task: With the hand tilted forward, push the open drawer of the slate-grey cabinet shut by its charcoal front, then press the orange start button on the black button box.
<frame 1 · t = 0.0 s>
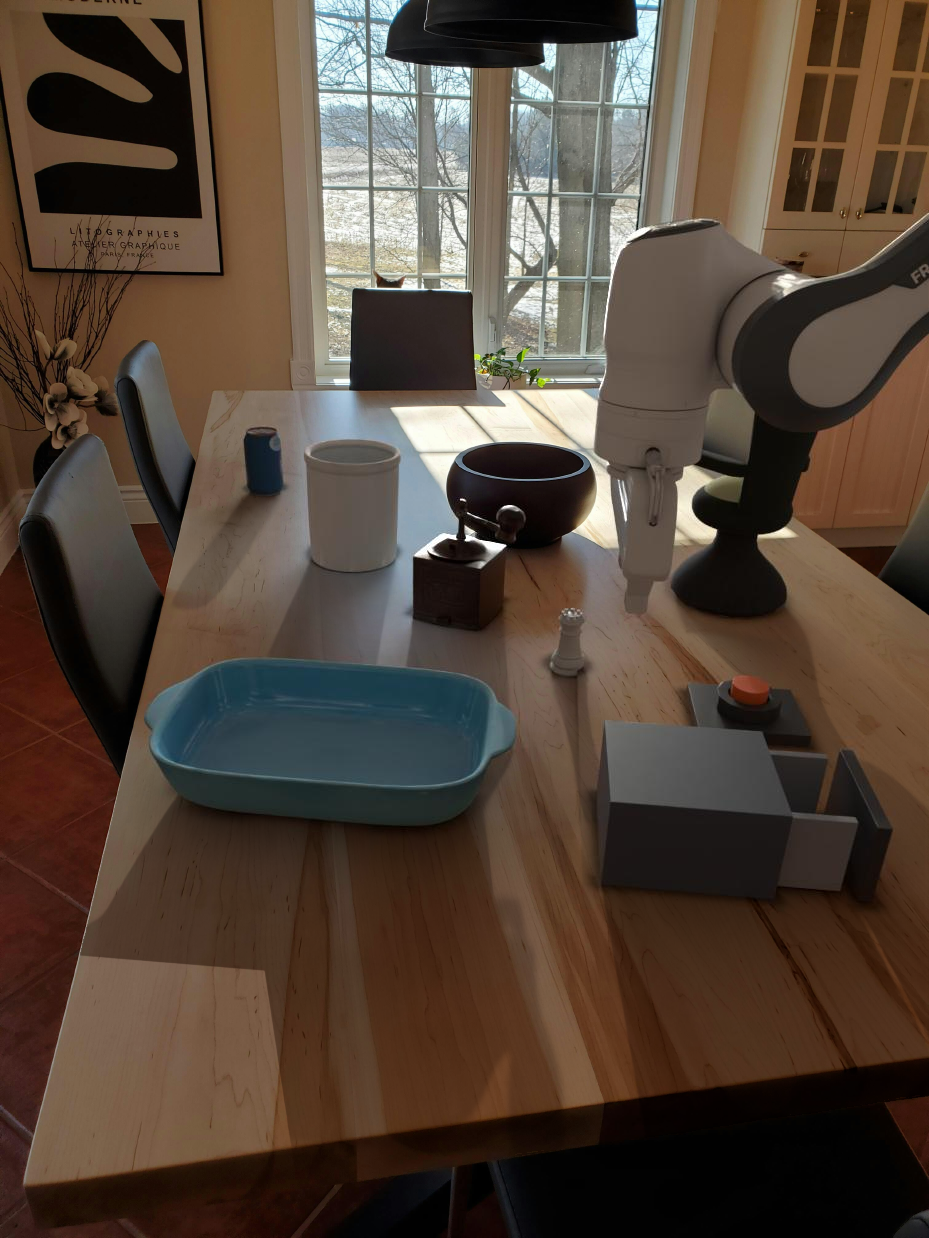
hand: (631, 587, 80), 23 cm above the table, tool pointing down, fingers open, 8 cm apart
manual coffee grinder: (474, 616, 127), on the table
cabinet: (677, 850, 83), on the table
soda can: (266, 492, 174), on the table
utensil holder: (355, 557, 145), on the table
start button: (749, 690, 101), point 4 cm above the table, slide at 0.1 cm
casserole dish: (334, 772, 93), on the table
rook chess piece: (567, 671, 113), on the table
drawer: (790, 817, 80), point 5 cm above the table, slide at 7.0 cm
black plant vase: (736, 604, 133), on the table
button box: (743, 724, 102), on the table
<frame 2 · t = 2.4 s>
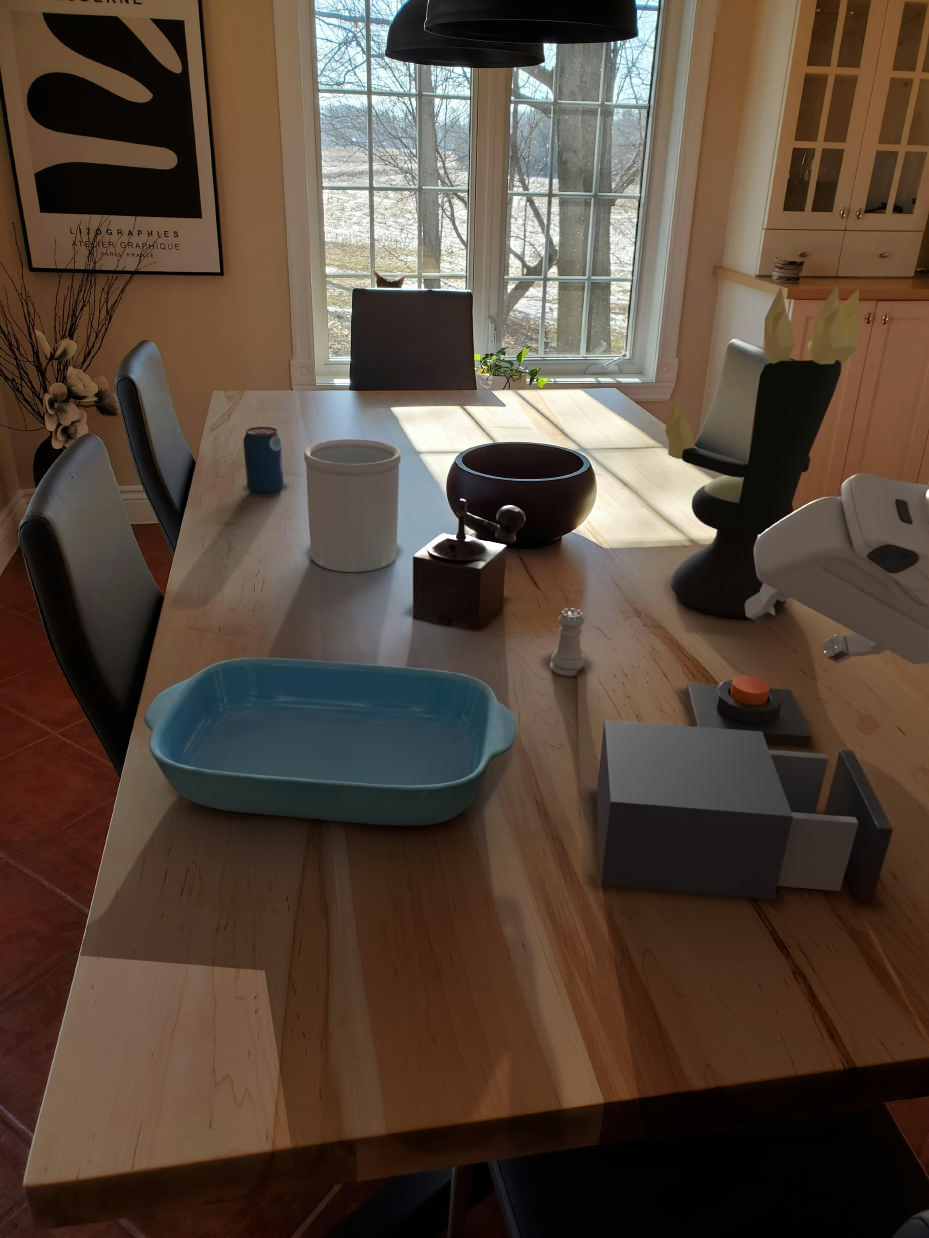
hand: (790, 633, 76), 21 cm above the table, tool tilted 45°, fingers open, 8 cm apart
nothing on the table moved.
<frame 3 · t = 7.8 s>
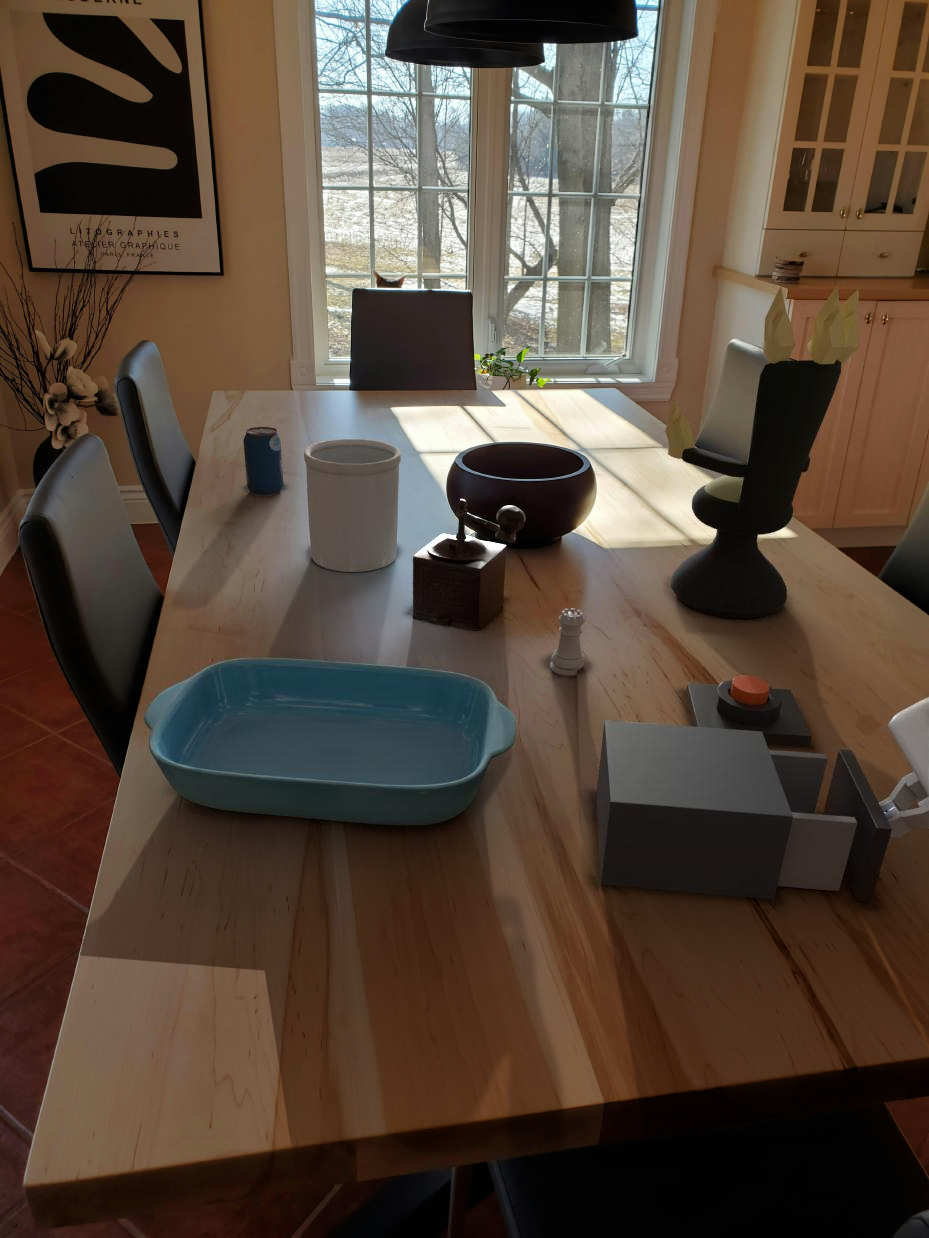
hand: (882, 822, 79), 5 cm above the table, tool tilted 45°, fingers closed, pressing on drawer
drawer: (789, 817, 80), point 5 cm above the table, slide at 6.9 cm, touching gripper
everything else where it was.
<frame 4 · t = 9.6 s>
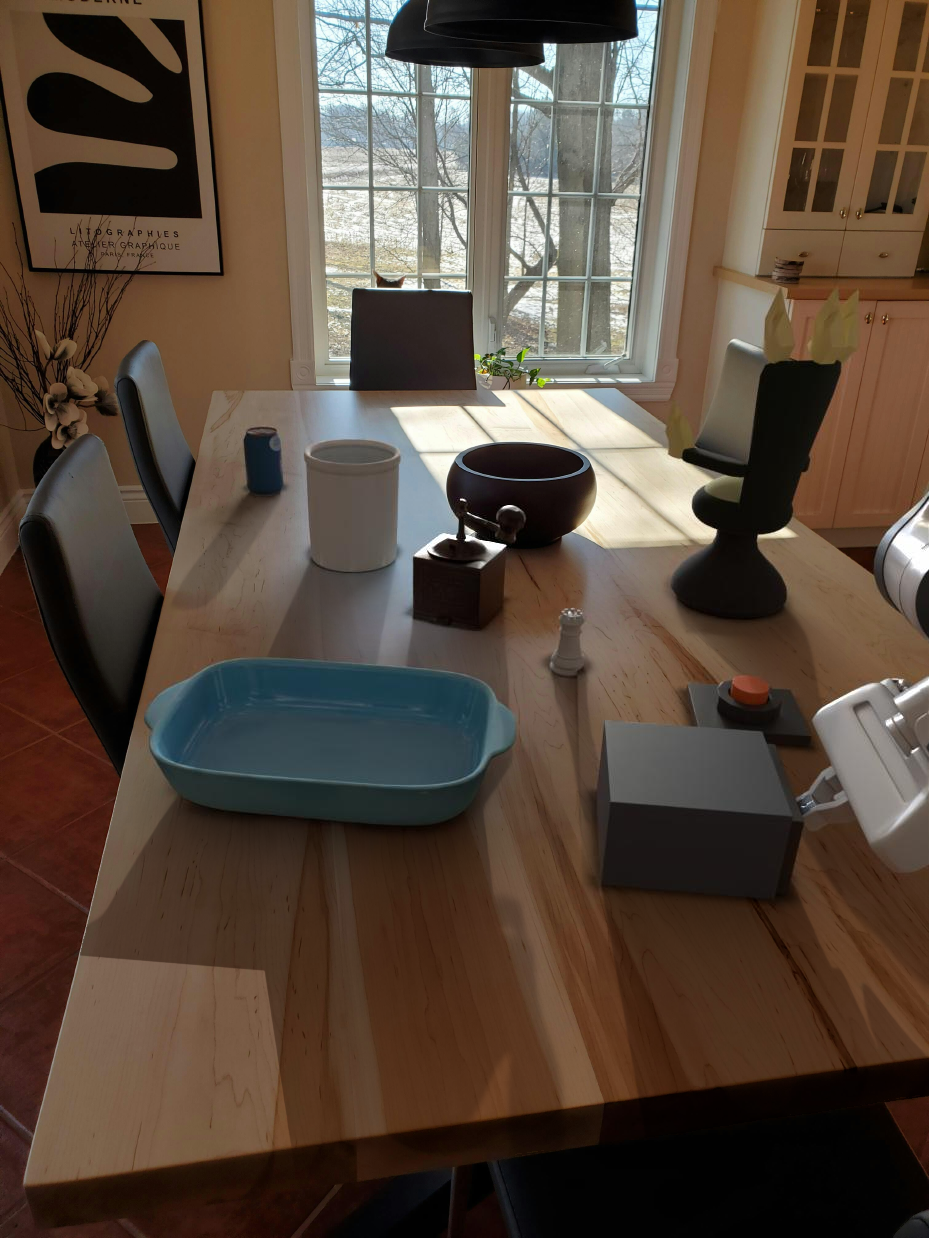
hand: (801, 816, 80), 5 cm above the table, tool tilted 45°, fingers closed, pressing on drawer
drawer: (710, 810, 80), point 5 cm above the table, slide at 0.0 cm, touching cabinet, gripper
everything else where it was.
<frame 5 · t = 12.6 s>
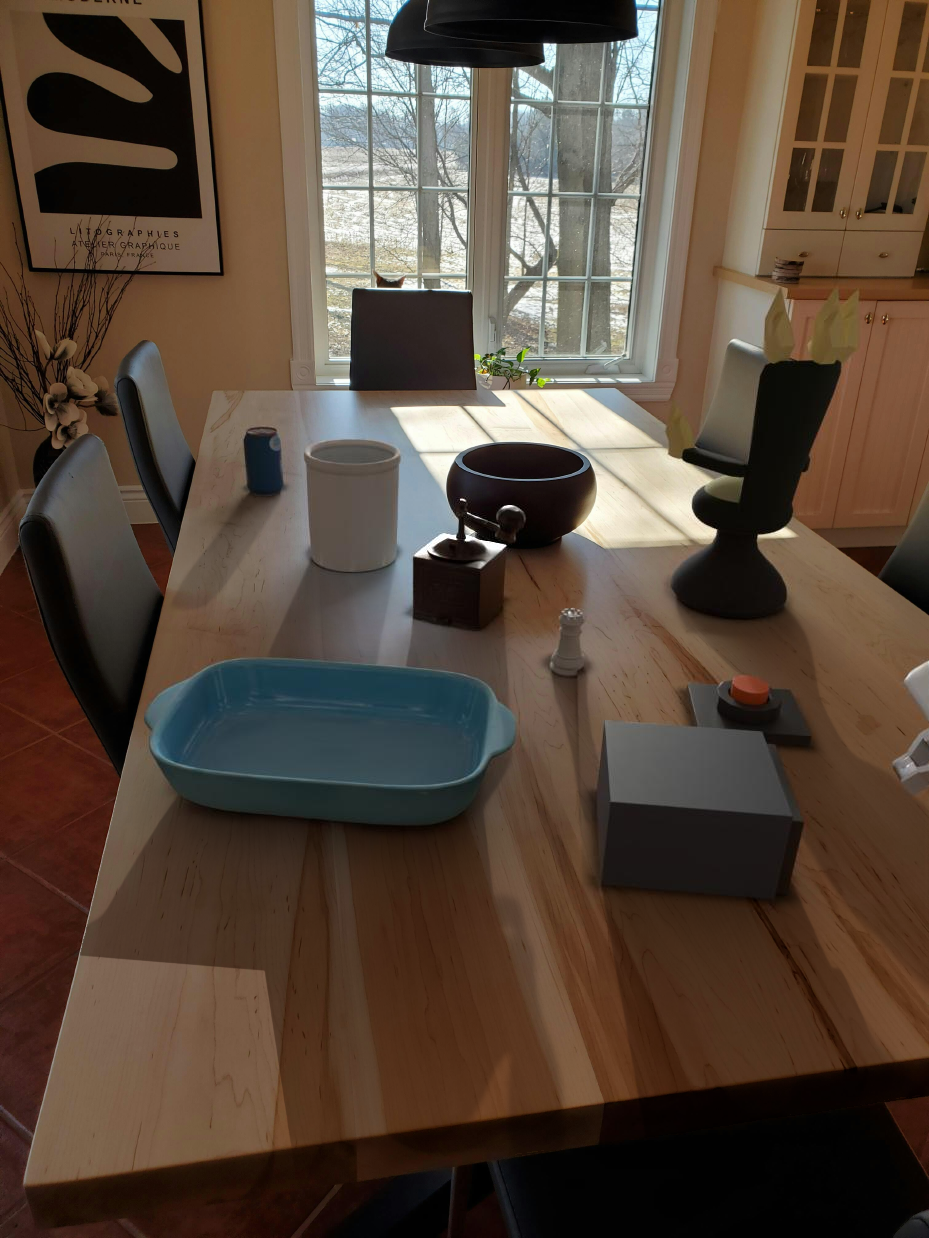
hand: (900, 779, 77), 10 cm above the table, tool tilted 45°, fingers closed
drawer: (710, 810, 80), point 5 cm above the table, slide at 0.0 cm
everything else where it was.
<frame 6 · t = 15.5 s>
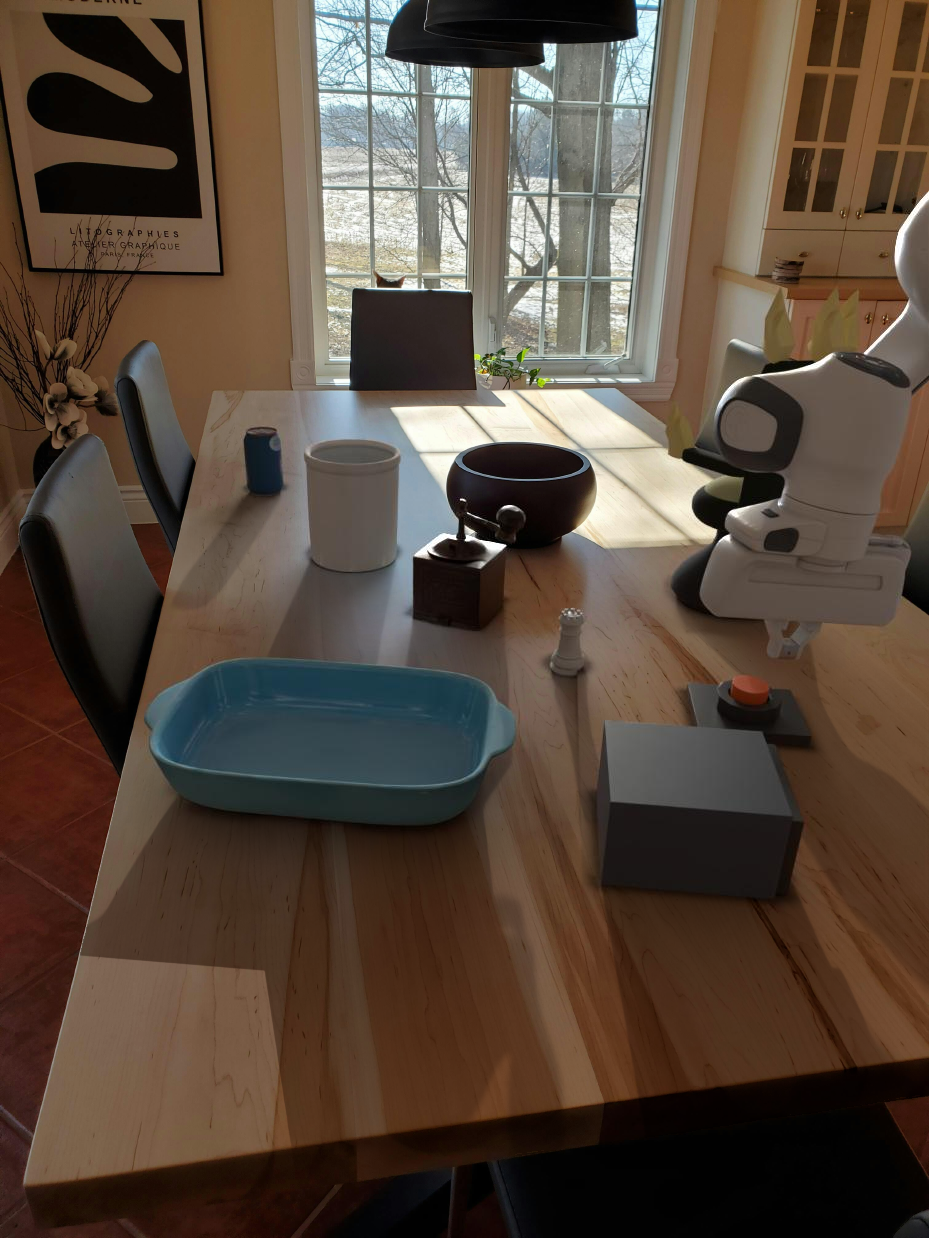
hand: (782, 656, 92), 12 cm above the table, tool pointing down, fingers closed
nothing on the table moved.
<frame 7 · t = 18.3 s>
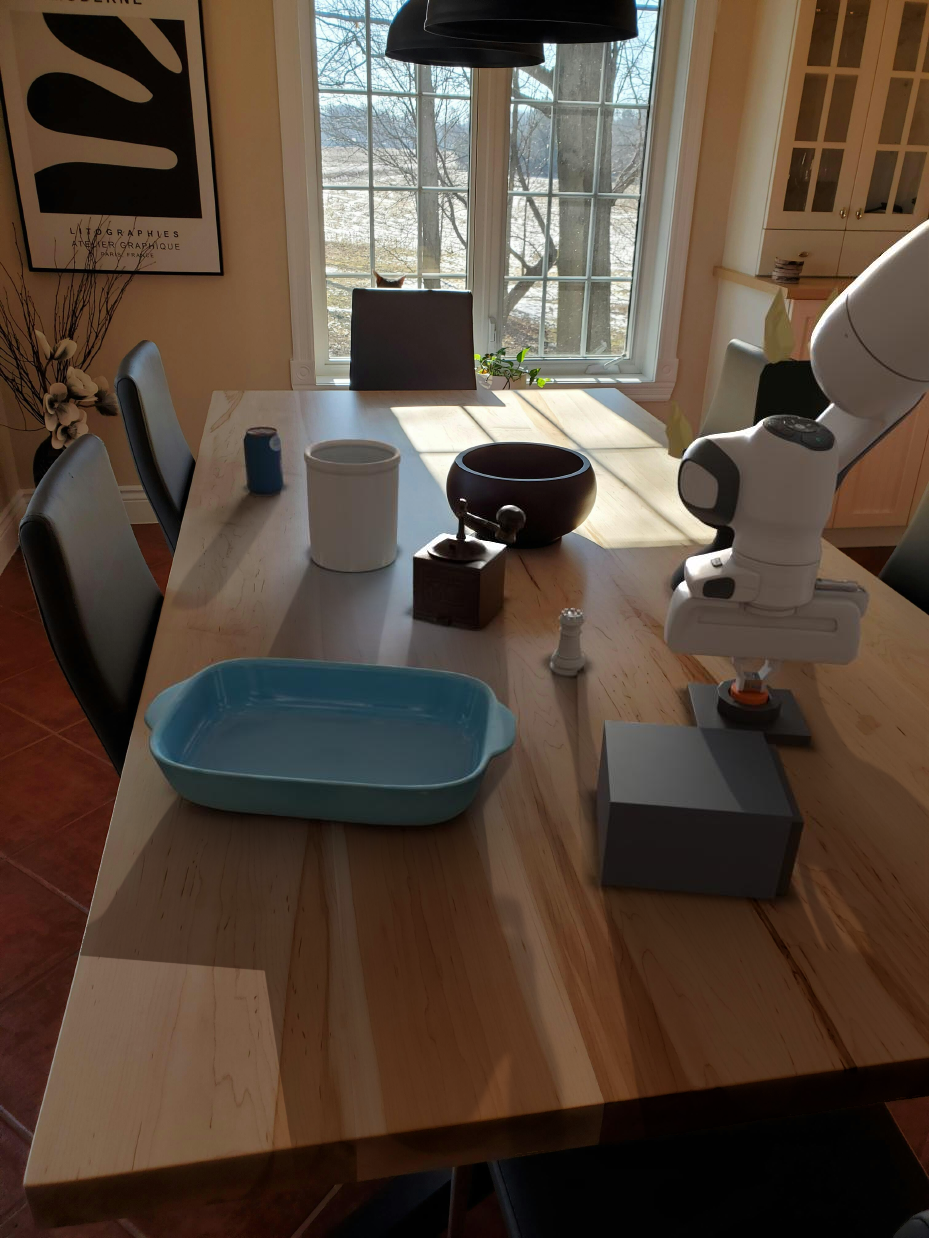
hand: (749, 689, 100), 5 cm above the table, tool pointing down, fingers closed, pressing on start button
start button: (748, 696, 101), point 4 cm above the table, slide at -0.7 cm, touching gripper
everything else where it was.
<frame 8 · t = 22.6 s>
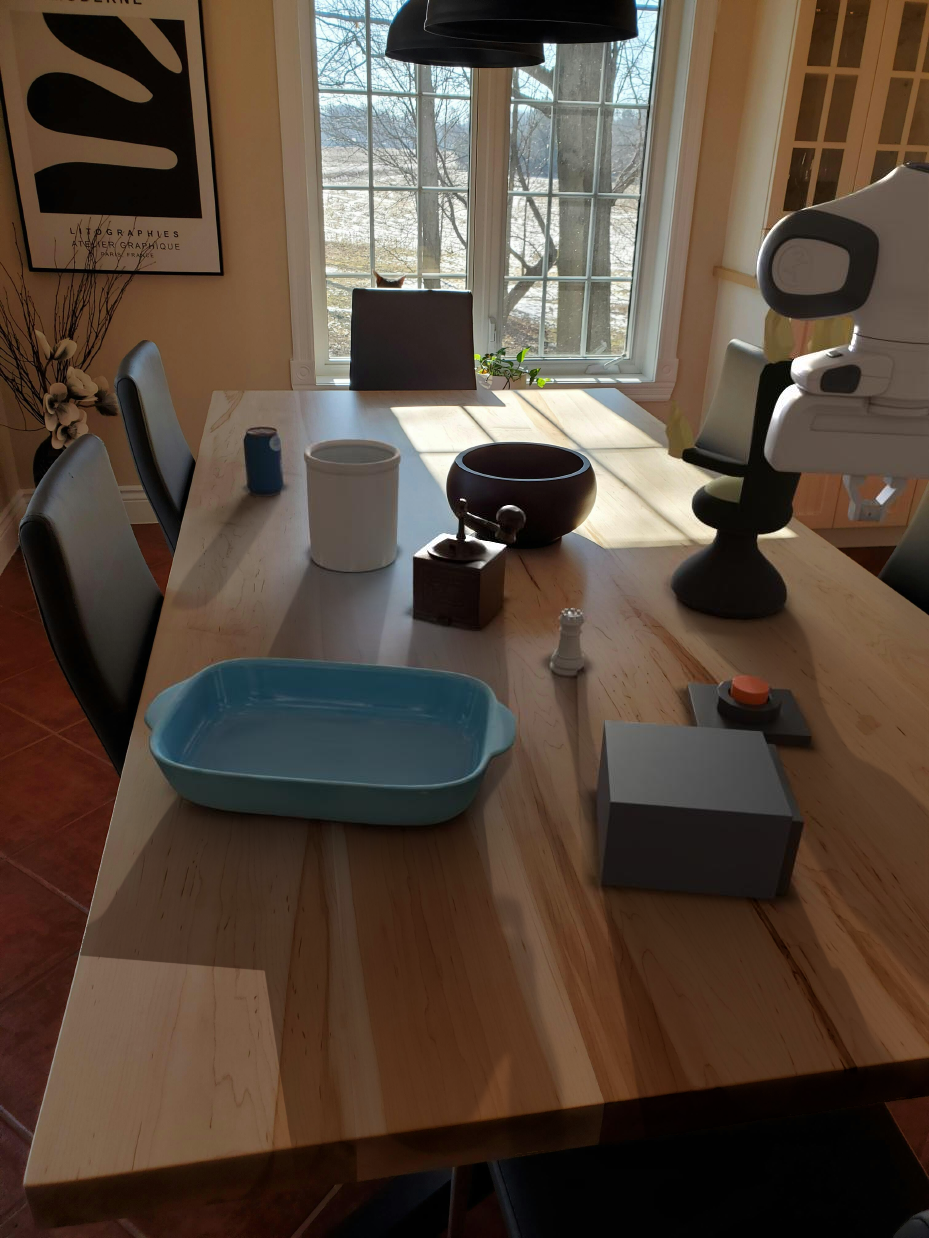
hand: (865, 520, 85), 27 cm above the table, tool pointing down, fingers closed
start button: (749, 690, 101), point 4 cm above the table, slide at 0.1 cm
everything else where it was.
at the end: drawer slide at 0.0 cm; start button pushed in 1.1 cm at the most during the clip, back to where it started at the end; start button slide at 0.1 cm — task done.
